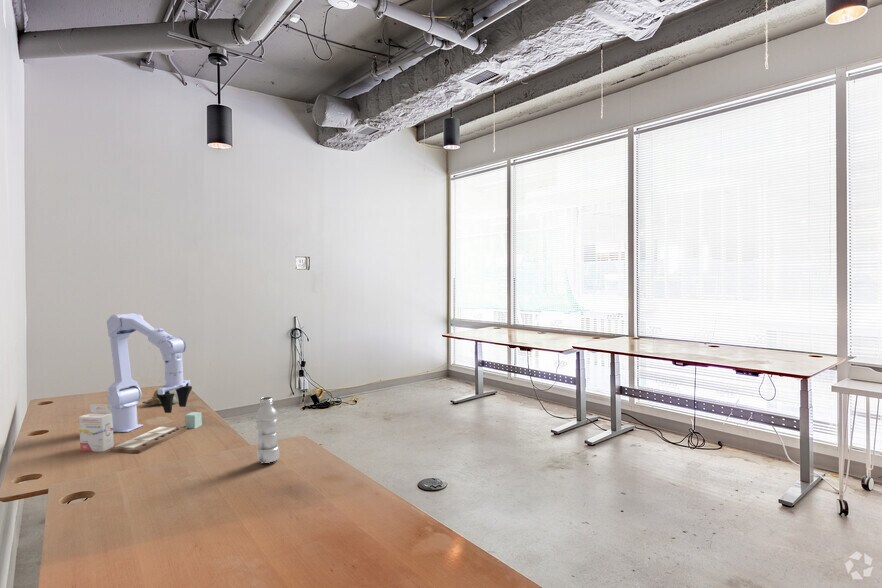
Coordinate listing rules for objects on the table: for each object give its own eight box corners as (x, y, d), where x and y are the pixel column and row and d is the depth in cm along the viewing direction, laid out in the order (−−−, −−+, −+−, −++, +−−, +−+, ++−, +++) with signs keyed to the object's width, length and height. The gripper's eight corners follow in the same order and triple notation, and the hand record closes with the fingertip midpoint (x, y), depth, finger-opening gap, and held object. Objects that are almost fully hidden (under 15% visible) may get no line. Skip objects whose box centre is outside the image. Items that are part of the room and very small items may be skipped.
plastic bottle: (284, 459, 153) (282, 396, 152) (268, 468, 147) (266, 402, 146) (268, 456, 156) (266, 394, 155) (252, 464, 150) (250, 400, 149)
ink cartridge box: (79, 451, 163) (77, 407, 162) (91, 446, 168) (89, 403, 167) (103, 452, 162) (101, 408, 161) (114, 446, 167) (112, 404, 166)
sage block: (185, 428, 186) (185, 415, 186) (192, 424, 190) (192, 412, 190) (195, 428, 185) (194, 415, 185) (201, 425, 189) (201, 412, 189)
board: (110, 451, 162) (110, 447, 162) (160, 429, 185) (160, 425, 185) (139, 453, 160) (139, 449, 160) (187, 430, 183) (186, 426, 183)
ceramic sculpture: (175, 386, 216) (140, 389, 215) (177, 405, 217) (142, 409, 215) (185, 381, 227) (151, 384, 225) (187, 399, 227) (153, 403, 226)
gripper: (169, 376, 167) (171, 415, 168) (197, 368, 182) (198, 404, 182) (151, 376, 168) (153, 415, 169) (180, 367, 183) (181, 403, 183)
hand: (175, 409), depth 176 cm, fingers open, 7 cm apart
